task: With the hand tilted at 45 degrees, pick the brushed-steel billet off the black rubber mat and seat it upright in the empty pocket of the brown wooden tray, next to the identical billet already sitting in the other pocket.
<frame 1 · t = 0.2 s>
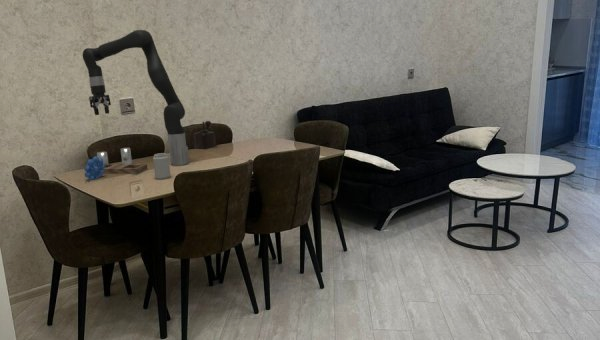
hand: (102, 114, 287), 29 cm above the table, tool pointing down, fingers open, 8 cm apart
mat: (127, 167, 283), on the table
billet: (127, 166, 282), resting on mat
brown wooden tray: (118, 172, 270), on the table
can: (163, 178, 255), on the table
grapes: (95, 180, 257), on the table
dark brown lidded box: (207, 147, 330), on the table
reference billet: (104, 171, 271), point 1 cm above the table, touching brown wooden tray
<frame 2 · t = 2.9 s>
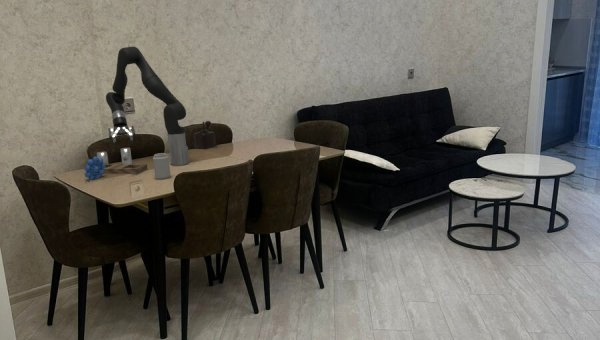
hand: (123, 142, 287), 12 cm above the table, tool tilted 45°, fingers open, 8 cm apart
nothing on the table moved.
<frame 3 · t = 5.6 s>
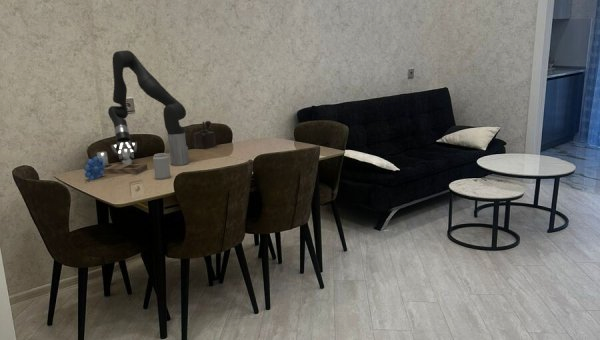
hand: (127, 159, 280), 5 cm above the table, tool tilted 45°, fingers closed on billet, 5 cm apart
billet: (127, 166, 282), resting on mat, touching gripper
everything else where it was.
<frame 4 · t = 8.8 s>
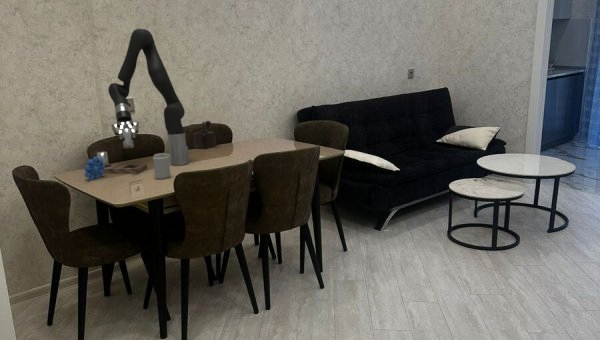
hand: (128, 140, 262), 18 cm above the table, tool tilted 45°, fingers closed on billet, 5 cm apart
billet: (128, 147, 265), point 14 cm above the table, touching gripper
everything else where it was.
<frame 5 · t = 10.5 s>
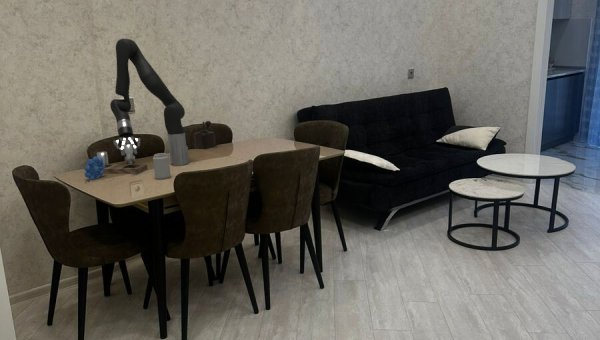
hand: (129, 156, 264), 9 cm above the table, tool tilted 45°, fingers closed on billet, 5 cm apart
billet: (130, 163, 267), point 5 cm above the table, touching gripper
everything else where it was.
when the fingers open (6 cm above the table, at t = 11.9 s): billet stays where it is, resting on brown wooden tray.
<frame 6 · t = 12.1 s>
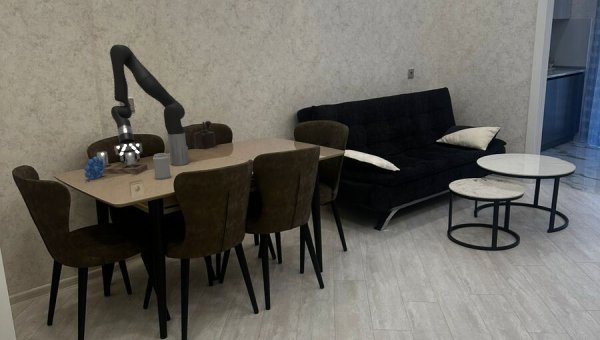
hand: (130, 161, 265), 6 cm above the table, tool tilted 45°, fingers open, 7 cm apart
billet: (131, 171, 268), point 1 cm above the table, touching brown wooden tray
everything else where it was.
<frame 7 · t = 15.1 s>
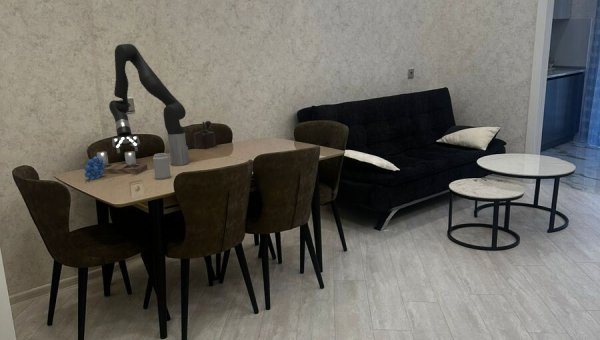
hand: (128, 153, 276), 9 cm above the table, tool tilted 45°, fingers open, 8 cm apart
nothing on the table moved.
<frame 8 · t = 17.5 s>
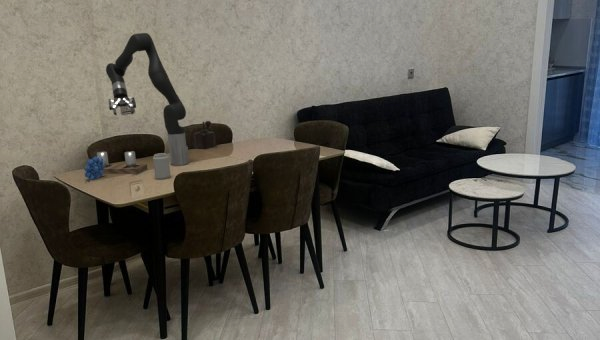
hand: (124, 113, 283), 29 cm above the table, tool tilted 45°, fingers open, 8 cm apart
nothing on the table moved.
at the end: billet 0.2 cm from the target spot on the brown wooden tray, point 1.0 cm above the brown wooden tray's base; billet tilted 1°; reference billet moved 0.0 cm from its start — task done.
